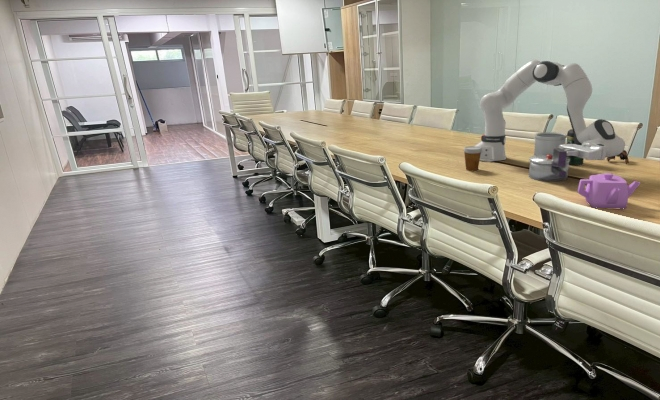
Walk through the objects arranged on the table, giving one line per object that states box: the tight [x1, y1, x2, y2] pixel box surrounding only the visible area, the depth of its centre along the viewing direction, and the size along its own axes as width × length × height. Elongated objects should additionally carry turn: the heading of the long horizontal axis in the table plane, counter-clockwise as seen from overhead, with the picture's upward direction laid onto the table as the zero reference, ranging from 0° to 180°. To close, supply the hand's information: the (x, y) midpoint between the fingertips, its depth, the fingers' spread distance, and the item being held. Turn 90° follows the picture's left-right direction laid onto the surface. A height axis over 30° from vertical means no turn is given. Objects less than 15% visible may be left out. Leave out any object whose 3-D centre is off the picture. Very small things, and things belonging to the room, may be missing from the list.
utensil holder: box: [533, 131, 567, 156], centre depth 226 cm, size 15×15×18 cm
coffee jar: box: [566, 128, 585, 166], centre depth 229 cm, size 10×8×19 cm
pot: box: [528, 160, 570, 182], centre depth 206 cm, size 31×17×8 cm, turn 171°
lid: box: [529, 148, 570, 166], centre depth 203 cm, size 25×18×8 cm
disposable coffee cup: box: [462, 145, 482, 172], centre depth 232 cm, size 10×10×12 cm
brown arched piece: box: [606, 149, 630, 165], centre depth 228 cm, size 12×10×8 cm
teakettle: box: [576, 172, 641, 210], centre depth 168 cm, size 17×17×12 cm
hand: (564, 153), depth 194 cm, fingers closed
